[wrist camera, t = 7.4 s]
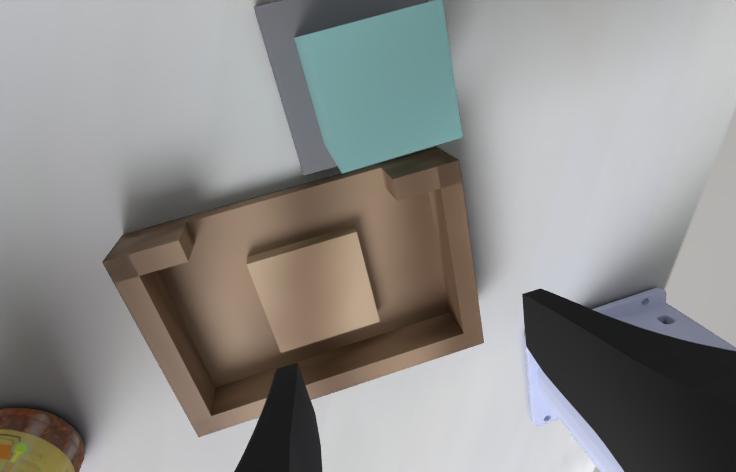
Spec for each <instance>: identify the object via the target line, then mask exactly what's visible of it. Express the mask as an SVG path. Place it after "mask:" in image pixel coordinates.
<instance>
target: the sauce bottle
mask: <svg viewBox="0 0 736 472" xmlns="http://www.w3.org/2000/svg"><path fill="white" fill-rule="evenodd" d="M84 453H85V452H84V446H83V441H82V438H81V437H80V435H79V434H78V433H77V431H76V430H75V428H73V427H72V426H71V425H69V424H68V423H67V422H66V421H65V420H63V419H61V418H59V417H58V416H56V415H54V414H52V413H50V412H46V411H40V410H38V409H28V408H5V409H0V472H79V470H80V468H81V464H82V462H83V460H84Z"/></svg>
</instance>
